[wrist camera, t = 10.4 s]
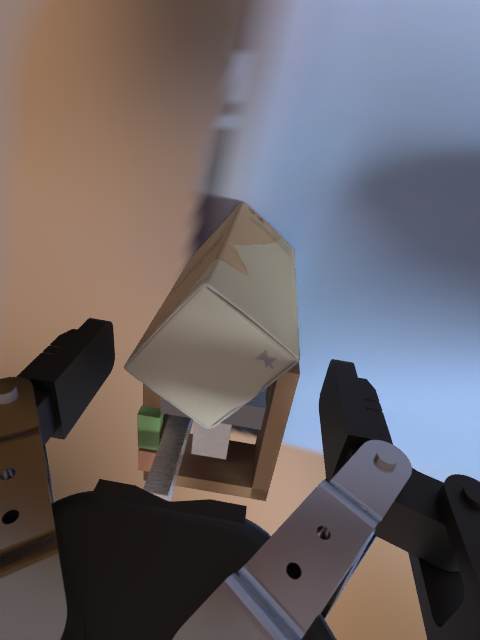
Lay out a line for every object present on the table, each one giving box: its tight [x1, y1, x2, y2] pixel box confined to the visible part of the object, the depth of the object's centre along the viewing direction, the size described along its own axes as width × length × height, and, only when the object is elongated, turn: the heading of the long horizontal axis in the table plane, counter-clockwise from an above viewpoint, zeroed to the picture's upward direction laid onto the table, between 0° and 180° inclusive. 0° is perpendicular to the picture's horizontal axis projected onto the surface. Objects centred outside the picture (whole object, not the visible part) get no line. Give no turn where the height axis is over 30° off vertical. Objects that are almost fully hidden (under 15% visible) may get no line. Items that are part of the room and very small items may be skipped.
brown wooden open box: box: [138, 362, 300, 501], centre depth 25 cm, size 9×12×5 cm
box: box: [124, 202, 300, 429], centre depth 17 cm, size 5×4×11 cm
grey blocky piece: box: [143, 389, 266, 501], centre depth 23 cm, size 6×7×8 cm
